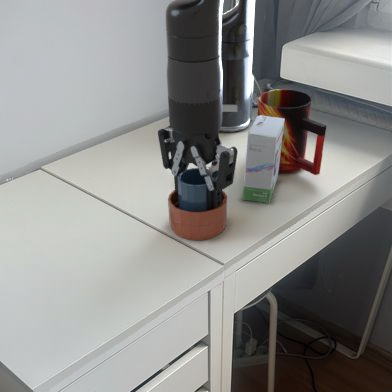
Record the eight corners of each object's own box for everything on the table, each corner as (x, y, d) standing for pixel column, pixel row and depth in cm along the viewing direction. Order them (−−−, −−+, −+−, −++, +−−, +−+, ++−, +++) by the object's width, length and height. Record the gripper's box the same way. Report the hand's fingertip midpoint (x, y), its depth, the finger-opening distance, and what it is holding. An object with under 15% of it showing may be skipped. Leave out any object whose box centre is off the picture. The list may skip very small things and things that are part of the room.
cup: (196, 209, 87) (195, 164, 81) (223, 221, 84) (224, 175, 78) (172, 223, 83) (169, 178, 78) (199, 236, 81) (198, 190, 75)
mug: (317, 181, 94) (327, 115, 85) (247, 168, 98) (250, 104, 89) (330, 160, 100) (341, 96, 91) (264, 149, 104) (268, 86, 96)
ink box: (251, 178, 95) (255, 113, 87) (278, 181, 94) (285, 116, 86) (241, 200, 89) (245, 133, 81) (270, 204, 88) (277, 136, 80)
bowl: (196, 205, 89) (195, 178, 85) (237, 223, 84) (239, 195, 81) (158, 227, 84) (155, 199, 80) (200, 247, 79) (200, 219, 76)
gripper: (253, 94, 68) (247, 208, 79) (175, 73, 75) (180, 180, 86) (217, 111, 64) (216, 227, 76) (139, 87, 71) (149, 197, 83)
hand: (197, 202), depth 81 cm, fingers closed on cup, 6 cm apart
